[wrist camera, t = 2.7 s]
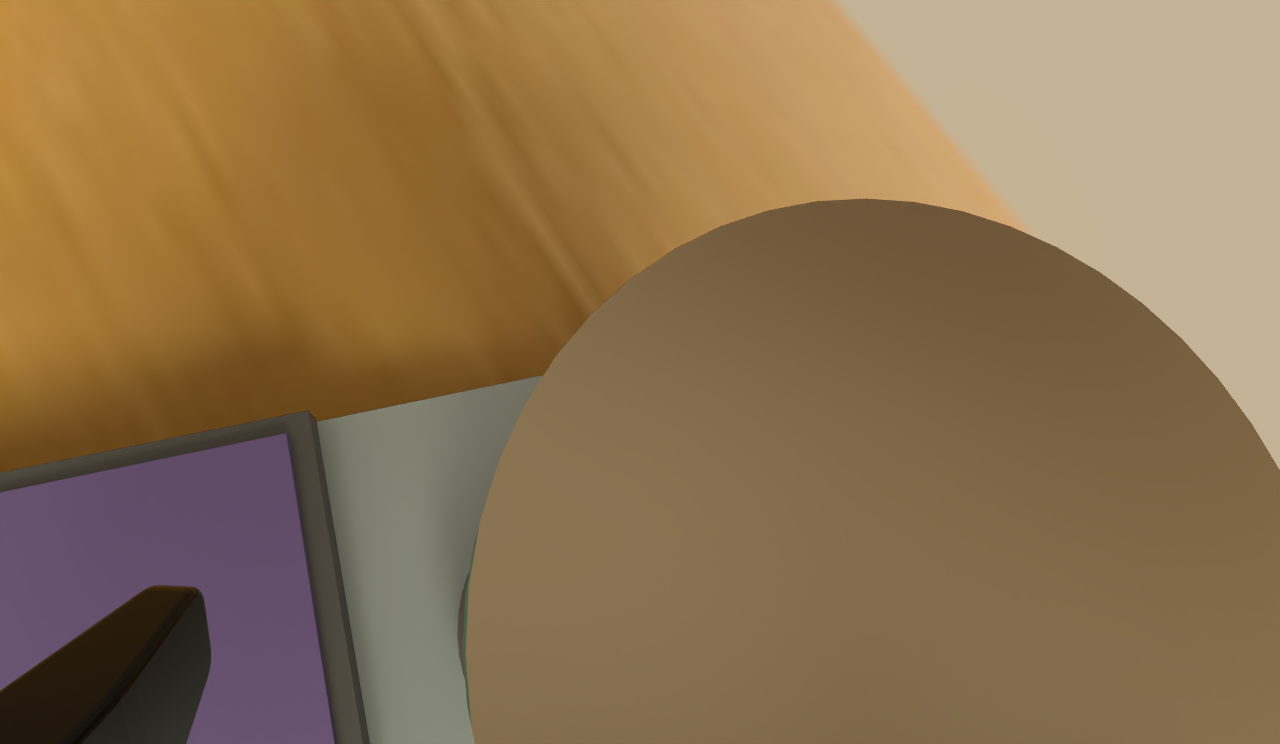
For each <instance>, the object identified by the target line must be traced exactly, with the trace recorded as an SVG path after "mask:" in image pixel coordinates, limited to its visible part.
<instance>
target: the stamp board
mask: <svg viewBox="0 0 1280 744" xmlns="http://www.w3.org/2000/svg"><path fill="white" fill-rule="evenodd" d="M542 377H543V375H541V376H536V377H531V378H527V379H522V380H517V381H512V382H507V383H502V384H497V385H493V386H488V387H483V388H478V389H473V390H468V391H464V392H459V393H454V394H449V395H444V396H439V397H434V398H430V399H425V400H420V401H415V402H410V403H405V404H400V405H396V406H391V407H386V408H381V409H376V410H371V411H366V412H362V413H357V414H352V415H347V416H342V417H337V418H332V419H328V420H323V421H318V422H317V421H316V419H315V417H314V416H313V415H312V414H311V413H310V412H309V411H303V412H298V413H293V414H288V415H283V416H278V417H273V418H269V419H264V420H259V421H254V422H249V423H244V424H239V425H234V426H229V427H224V428H219V429H214V430H209V431H204V432H199V433H194V434H190V435H185V436H180V437H175V438H170V439H165V440H160V441H155V442H150V443H145V444H140V445H135V446H130V447H125V448H120V449H115V450H111V451H106V452H101V453H96V454H91V455H86V456H81V457H76V458H71V459H66V460H61V461H56V462H51V463H46V464H41V465H36V466H32V467H27V468H22V469H17V470H12V471H7V472H2V473H0V690H1V689H3V688H4V687H5V686H7V685H8V684H10V683H11V682H13V681H14V680H15V679H17V678H18V677H20V676H21V675H23V674H24V673H25V672H27V671H28V670H30V669H31V668H33V667H34V666H35V665H37V664H38V663H40V662H41V661H43V660H44V659H45V658H47V657H48V656H50V655H51V654H53V653H54V652H55V651H57V650H58V649H60V648H61V647H63V646H64V645H65V644H67V643H68V642H70V641H71V640H73V639H74V638H75V637H77V636H78V635H80V634H81V633H82V632H84V631H85V630H87V629H88V628H90V627H91V626H92V625H94V624H95V623H97V622H98V621H100V620H101V619H102V618H104V617H105V616H107V615H108V614H110V613H111V612H112V611H114V610H115V609H117V608H118V607H120V606H121V605H122V604H124V603H125V602H127V601H128V600H130V599H131V598H132V597H134V596H135V595H137V594H138V593H140V592H141V591H143V590H144V589H146V588H148V587H151V586H154V585H171V586H192V587H195V588H198V589H199V590H200V591H201V592H202V594H203V597H204V600H205V607H206V615H207V622H208V629H209V637H210V644H211V653H212V654H211V666H210V671H209V676H208V679H207V682H206V685H205V688H204V692H203V695H202V698H201V701H200V704H199V707H198V710H197V713H196V716H195V719H194V722H193V725H192V728H191V731H190V735H189V738H188V741H187V744H475V742H474V737H473V733H472V728H471V722H470V717H469V713H468V708H467V696H466V684H465V678H464V675H463V671H462V666H461V662H460V657H459V649H458V636H457V630H458V612H459V607H460V601H461V595H462V591H463V588H464V585H465V582H466V579H467V575H468V573H469V570H470V564H471V558H472V553H473V547H474V541H475V538H476V535H477V531H478V528H479V524H480V520H481V516H482V513H483V510H484V507H485V504H486V500H487V497H488V494H489V491H490V488H491V484H492V481H493V478H494V475H495V472H496V468H497V465H498V462H499V459H500V457H501V455H502V453H503V451H504V448H505V446H506V444H507V442H508V440H509V438H510V435H511V433H512V431H513V429H514V427H515V425H516V423H517V420H518V418H519V416H520V414H521V412H522V410H523V407H524V405H525V404H526V402H527V401H528V399H529V397H530V396H531V394H532V393H533V391H534V390H535V388H536V386H537V385H538V383H539V382H540V380H541V379H542Z"/></svg>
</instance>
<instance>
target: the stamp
mask: <svg viewBox="0 0 1280 744" xmlns="http://www.w3.org/2000/svg"><path fill="white" fill-rule="evenodd" d="M457 636H458V649H459V657H460V662H461V666H462V671H463V675H464V678H465V684H466V696H467V708H468V713H469V717H470V722H471V728H472V733H473V737H474V742H475V744H1280V470H1279V468H1278V467H1277V465H1276V463H1275V462H1274V460H1273V458H1272V457H1271V455H1270V453H1269V452H1268V450H1267V449H1266V447H1265V445H1264V444H1263V442H1262V440H1261V439H1260V437H1259V435H1258V434H1257V432H1256V430H1255V429H1254V427H1253V425H1252V424H1251V422H1250V421H1249V420H1248V418H1247V417H1246V416H1245V414H1244V413H1243V412H1242V410H1241V409H1240V407H1239V406H1238V405H1237V403H1236V402H1235V401H1234V399H1233V398H1232V397H1231V396H1230V394H1229V393H1228V391H1227V390H1226V389H1225V387H1224V386H1223V385H1222V383H1221V382H1220V381H1219V379H1218V378H1217V377H1216V376H1215V375H1214V374H1213V373H1212V372H1211V370H1210V369H1209V368H1208V367H1207V366H1206V365H1205V364H1204V363H1203V362H1202V361H1201V360H1200V358H1199V357H1198V356H1197V355H1196V354H1195V353H1194V352H1193V351H1192V350H1191V348H1189V346H1188V345H1187V344H1186V343H1185V342H1184V341H1183V340H1182V339H1181V338H1180V337H1179V336H1178V335H1177V334H1176V333H1174V331H1172V330H1171V329H1170V328H1169V327H1168V326H1167V325H1166V324H1165V323H1163V322H1162V321H1161V320H1160V319H1159V318H1158V317H1157V316H1156V315H1155V314H1154V313H1152V312H1151V311H1150V310H1149V309H1148V308H1147V307H1146V306H1145V305H1144V304H1142V303H1141V302H1140V301H1138V300H1137V299H1136V298H1134V297H1133V296H1131V295H1130V294H1129V293H1127V292H1126V291H1125V290H1123V289H1122V288H1121V287H1119V286H1118V285H1116V284H1115V283H1114V282H1112V281H1111V280H1110V279H1108V278H1107V277H1106V276H1104V275H1103V274H1101V273H1100V272H1098V271H1097V270H1095V269H1093V268H1091V267H1090V266H1088V265H1086V264H1085V263H1083V262H1081V261H1079V260H1078V259H1076V258H1074V257H1073V256H1071V255H1069V254H1067V253H1066V252H1064V251H1062V250H1060V249H1059V248H1057V247H1055V246H1053V245H1051V244H1048V243H1046V242H1044V241H1042V240H1039V239H1037V238H1035V237H1033V236H1030V235H1028V234H1026V233H1024V232H1021V231H1019V230H1017V229H1015V228H1012V227H1010V226H1007V225H1004V224H1001V223H998V222H994V221H991V220H988V219H985V218H982V217H979V216H975V215H972V214H969V213H966V212H963V211H958V210H953V209H947V208H942V207H937V206H932V205H927V204H921V203H916V202H905V201H891V200H876V199H852V200H834V201H817V202H811V203H806V204H801V205H795V206H790V207H785V208H779V209H774V210H769V211H766V212H763V213H759V214H756V215H753V216H750V217H747V218H744V219H741V220H738V221H735V222H732V223H729V224H726V225H723V226H720V227H718V228H716V229H714V230H712V231H710V232H708V233H706V234H704V235H702V236H700V237H698V238H696V239H694V240H692V241H690V242H688V243H686V244H684V245H681V246H679V247H677V248H675V249H674V250H672V251H671V252H669V253H668V254H666V255H665V256H663V257H662V258H660V259H659V260H658V261H656V262H655V263H653V264H652V265H650V266H649V267H647V268H646V269H644V270H643V271H641V272H640V273H638V274H637V275H635V276H634V277H632V278H631V279H630V280H629V281H628V282H627V283H626V284H624V285H623V286H622V287H621V288H620V289H619V290H618V291H617V292H615V293H614V294H613V295H612V296H611V297H610V298H609V299H608V300H606V301H605V302H604V303H603V304H602V305H601V306H600V307H599V308H598V309H596V310H595V311H594V312H593V313H592V314H591V315H590V316H589V318H588V319H587V320H586V321H585V322H584V323H583V325H582V326H581V327H580V328H579V329H578V331H577V332H576V333H575V334H574V335H573V336H572V338H571V339H570V340H569V341H568V342H567V344H566V345H565V346H564V347H563V348H562V349H561V351H560V352H559V353H558V354H557V355H556V357H555V358H554V360H553V361H552V363H551V364H550V366H549V368H548V369H547V371H546V372H545V374H544V375H543V377H542V379H541V380H540V382H539V383H538V385H537V386H536V388H535V390H534V391H533V393H532V394H531V396H530V397H529V399H528V401H527V402H526V404H525V405H524V407H523V410H522V412H521V414H520V416H519V418H518V420H517V423H516V425H515V427H514V429H513V431H512V433H511V435H510V438H509V440H508V442H507V444H506V446H505V448H504V451H503V453H502V455H501V457H500V459H499V462H498V465H497V468H496V472H495V475H494V478H493V481H492V484H491V488H490V491H489V494H488V497H487V500H486V504H485V507H484V510H483V513H482V516H481V520H480V524H479V528H478V531H477V535H476V538H475V541H474V547H473V553H472V558H471V564H470V570H469V573H468V575H467V579H466V582H465V585H464V588H463V591H462V595H461V601H460V607H459V612H458V630H457Z"/></svg>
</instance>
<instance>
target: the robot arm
mask: <svg viewBox="0 0 1280 744" xmlns="http://www.w3.org/2000/svg"><path fill="white" fill-rule="evenodd" d="M211 654H212V653H211V644H210V637H209V629H208V622H207V615H206V607H205V600H204V597H203V594H202V592H201V591H200V590H199V589H198V588H195V587H192V586H171V585H154V586H151V587H148V588H146V589H144V590H143V591H141V592H140V593H138V594H137V595H135V596H134V597H132V598H131V599H130V600H128V601H127V602H125V603H124V604H122V605H121V606H120V607H118V608H117V609H115V610H114V611H112V612H111V613H110V614H108V615H107V616H105V617H104V618H102V619H101V620H100V621H98V622H97V623H95V624H94V625H92V626H91V627H90V628H88V629H87V630H85V631H84V632H82V633H81V634H80V635H78V636H77V637H75V638H74V639H73V640H71V641H70V642H68V643H67V644H65V645H64V646H63V647H61V648H60V649H58V650H57V651H55V652H54V653H53V654H51V655H50V656H48V657H47V658H45V659H44V660H43V661H41V662H40V663H38V664H37V665H35V666H34V667H33V668H31V669H30V670H28V671H27V672H25V673H24V674H23V675H21V676H20V677H18V678H17V679H15V680H14V681H13V682H11V683H10V684H8V685H7V686H5V687H4V688H3V689H1V690H0V744H187V741H188V738H189V735H190V731H191V728H192V725H193V722H194V719H195V716H196V713H197V710H198V707H199V704H200V701H201V698H202V695H203V692H204V688H205V685H206V682H207V679H208V676H209V671H210V666H211Z"/></svg>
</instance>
